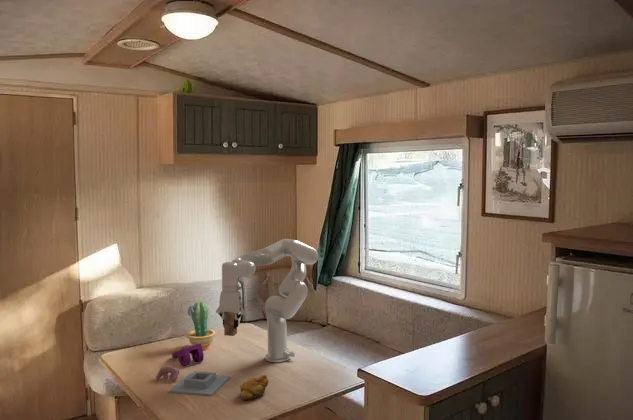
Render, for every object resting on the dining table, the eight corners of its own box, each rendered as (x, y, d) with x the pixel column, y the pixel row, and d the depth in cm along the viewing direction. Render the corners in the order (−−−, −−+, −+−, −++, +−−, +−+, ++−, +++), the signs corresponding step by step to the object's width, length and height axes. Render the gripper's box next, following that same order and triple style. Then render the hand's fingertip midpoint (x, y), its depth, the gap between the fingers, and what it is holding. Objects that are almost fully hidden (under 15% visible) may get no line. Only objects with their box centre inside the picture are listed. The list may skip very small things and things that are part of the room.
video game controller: (178, 383, 231) (181, 367, 234) (173, 382, 227) (176, 366, 230) (159, 381, 235) (163, 365, 237) (154, 380, 231) (158, 364, 233)
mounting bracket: (172, 371, 257) (187, 365, 245) (168, 355, 260) (183, 347, 247) (189, 367, 264) (205, 360, 251) (185, 350, 266) (200, 343, 253)
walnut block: (237, 333, 241) (236, 310, 240) (233, 335, 236) (233, 312, 236) (228, 332, 242) (227, 309, 241) (224, 335, 237) (224, 311, 237)
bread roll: (249, 404, 206) (248, 384, 206) (232, 397, 212) (232, 379, 212) (271, 393, 216) (270, 374, 216) (254, 387, 223) (254, 369, 222)
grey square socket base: (230, 377, 234) (230, 369, 233) (212, 396, 214) (211, 387, 214) (189, 374, 238) (189, 366, 238) (168, 392, 218) (168, 383, 218)
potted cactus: (193, 342, 284) (192, 298, 282) (220, 343, 282) (219, 298, 280) (182, 352, 269) (180, 305, 267) (210, 353, 267) (209, 305, 265)
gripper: (250, 287, 240) (250, 326, 241) (216, 286, 243) (217, 324, 244) (244, 291, 232) (244, 330, 233) (210, 289, 236) (210, 328, 237)
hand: (230, 327), depth 239 cm, fingers closed on walnut block, 4 cm apart
